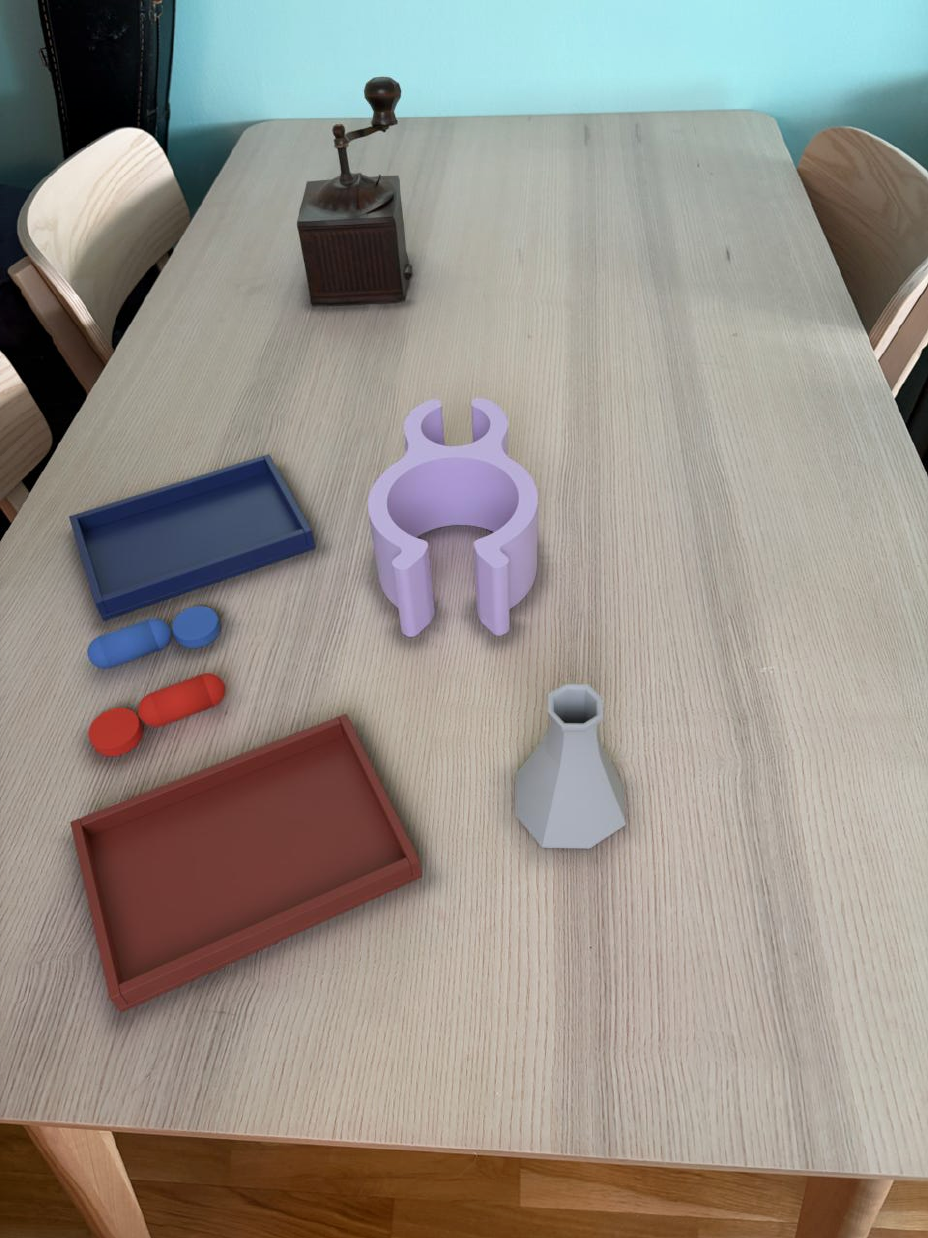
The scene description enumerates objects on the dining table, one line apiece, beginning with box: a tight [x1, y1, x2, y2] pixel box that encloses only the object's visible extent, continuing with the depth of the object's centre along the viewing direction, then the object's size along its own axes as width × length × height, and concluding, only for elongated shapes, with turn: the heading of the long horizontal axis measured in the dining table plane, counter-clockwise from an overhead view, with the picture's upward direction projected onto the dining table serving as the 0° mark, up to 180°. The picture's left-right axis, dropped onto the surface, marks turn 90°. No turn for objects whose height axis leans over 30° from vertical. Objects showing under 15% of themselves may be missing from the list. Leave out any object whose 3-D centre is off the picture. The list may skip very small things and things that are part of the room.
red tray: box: [70, 713, 423, 1013], centre depth 59 cm, size 18×12×2 cm
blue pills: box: [86, 605, 222, 669], centre depth 71 cm, size 10×3×2 cm, turn 116°
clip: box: [367, 397, 539, 638], centre depth 76 cm, size 20×12×7 cm, turn 179°
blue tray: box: [68, 453, 317, 622], centre depth 79 cm, size 17×11×2 cm, turn 115°
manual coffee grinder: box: [296, 76, 414, 307], centre depth 103 cm, size 16×11×18 cm
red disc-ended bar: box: [88, 672, 227, 757], centre depth 66 cm, size 10×3×2 cm, turn 115°
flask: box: [513, 683, 627, 850], centre depth 58 cm, size 7×7×10 cm
